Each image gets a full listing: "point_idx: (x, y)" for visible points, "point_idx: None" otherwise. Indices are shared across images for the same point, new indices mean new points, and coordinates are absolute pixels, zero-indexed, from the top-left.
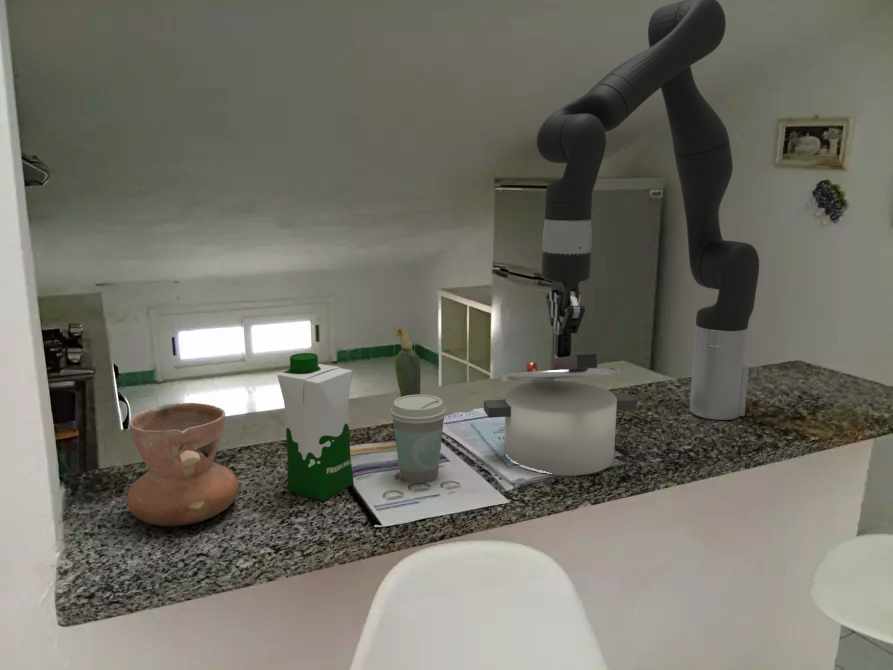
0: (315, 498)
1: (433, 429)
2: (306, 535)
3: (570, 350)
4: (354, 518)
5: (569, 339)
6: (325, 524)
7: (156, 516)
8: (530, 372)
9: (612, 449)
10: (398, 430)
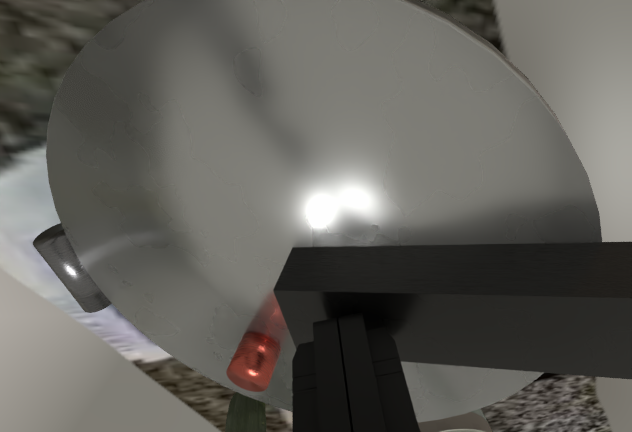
0: None
1: (484, 421)
2: (569, 415)
3: (366, 339)
4: (540, 389)
5: (414, 418)
6: (547, 407)
7: None
8: (490, 401)
9: None
10: None
